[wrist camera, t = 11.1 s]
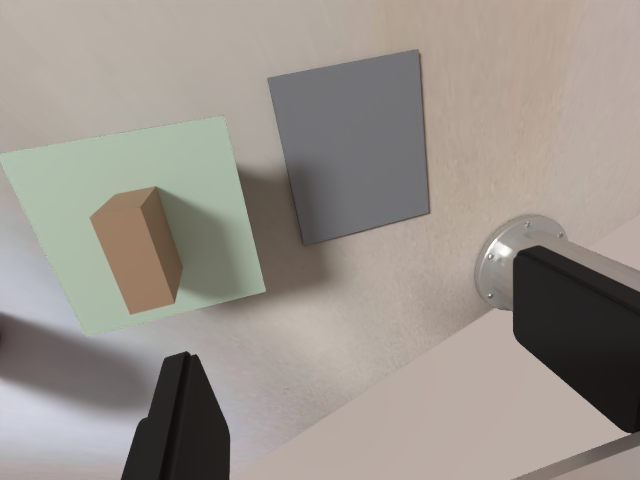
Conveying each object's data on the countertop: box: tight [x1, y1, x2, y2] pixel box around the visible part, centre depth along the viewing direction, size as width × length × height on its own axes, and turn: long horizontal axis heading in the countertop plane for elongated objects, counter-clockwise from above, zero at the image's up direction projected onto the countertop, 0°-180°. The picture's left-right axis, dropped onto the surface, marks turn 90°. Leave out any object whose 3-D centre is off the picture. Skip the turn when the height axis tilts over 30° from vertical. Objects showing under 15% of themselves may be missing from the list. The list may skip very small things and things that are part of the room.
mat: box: [268, 49, 429, 246], centre depth 36 cm, size 16×14×1 cm
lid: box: [0, 115, 266, 337], centre depth 23 cm, size 13×13×6 cm
